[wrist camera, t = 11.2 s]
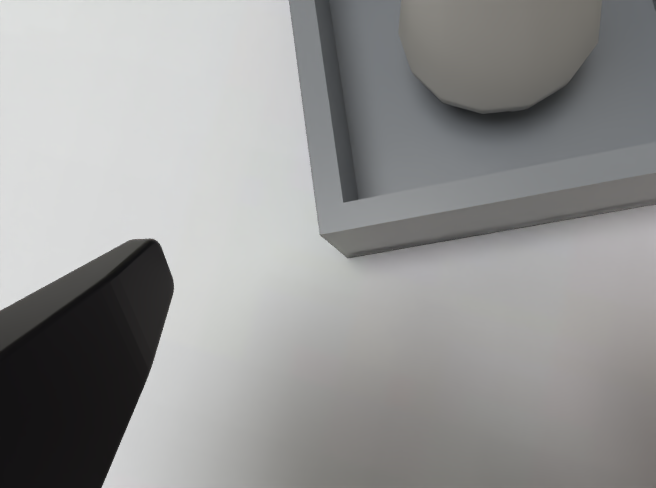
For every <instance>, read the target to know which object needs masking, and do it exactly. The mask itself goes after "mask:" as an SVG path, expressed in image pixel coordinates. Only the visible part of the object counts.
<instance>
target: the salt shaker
mask: <svg viewBox="0 0 656 488" xmlns="http://www.w3.org/2000/svg"><path fill="white" fill-rule="evenodd" d="M601 7H602V0H401V9H400V20H399V31H398V34H399V37H400V40H401V43H402V46H403V48H404V51H405V54H406V57H407V60H408V63H409V66H410V69H411V71H412V73H413V74H414V76H415V77H416V78H417V79H418V80H419V81H420V82H421V83H422V84H423V85H424V86H425V87H426V88H428V89H429V90H430V91H431V92H432V93H433V94H434V95H435V96H436V97H437V98H438V99H439V100H440V101H441V102H442V103H445V104H448V105H451V106H455V107H459V108H463V109H467V110H470V111H474V112H477V113H481V114H487V113H496V112H506V111H511V112H514V111H520V110H525V109H528V108H530V107H532V106H533V105H535V104H537V103H538V102H540V101H541V100H543V99H545V98H546V97H548V96H550V95H551V94H553V93H554V92H556V91H558V90H559V89H561V88H563V87H564V86H566V85H567V83H568V82H569V81H570V80H571V79H572V77H573V76H574V75H575V73H576V72H577V71H578V69H579V68H580V66H581V65H582V64H583V62H584V61H585V60H586V58H587V57H588V56H589V54H590V53H591V51H592V50H593V49H594V47H595V46H596V45H597V43H598V38H599V28H600V18H601Z"/></svg>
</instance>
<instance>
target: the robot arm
mask: <svg viewBox="0 0 656 488" xmlns="http://www.w3.org/2000/svg"><path fill="white" fill-rule="evenodd" d="M173 291H174V283H173V278H172V275H171V272H170V269H169V267H168V264H167V261H166V259H165V256H164V253H163V250H162V248H161V246H160V244H159V243H158V241H156V240H154V239H133V240H129V241H127V242H125V243H124V244H122V245H120V246H118V247H116V248H114V249H113V250H111V251H109V252H107V253H105V254H103V255H102V256H100V257H98V258H96V259H94V260H92V261H91V262H89V263H87V264H85V265H83V266H81V267H80V268H78V269H76V270H74V271H72V272H70V273H69V274H67V275H65V276H63V277H61V278H59V279H58V280H56V281H54V282H52V283H50V284H48V285H47V286H45V287H43V288H41V289H39V290H37V291H36V292H34V293H32V294H30V295H28V296H26V297H25V298H23V299H21V300H19V301H17V302H15V303H14V304H12V305H10V306H8V307H6V308H4V309H3V310H1V311H0V488H102V485H103V483H104V481H105V478H106V476H107V473H108V471H109V469H110V466H111V464H112V462H113V459H114V457H115V454H116V452H117V450H118V447H119V445H120V443H121V440H122V438H123V435H124V433H125V431H126V428H127V426H128V423H129V421H130V419H131V416H132V414H133V412H134V409H135V407H136V404H137V402H138V400H139V397H140V395H141V392H142V390H143V388H144V385H145V383H146V380H147V378H148V375H149V372H150V370H151V367H152V364H153V361H154V357H155V354H156V351H157V347H158V344H159V340H160V337H161V334H162V330H163V327H164V323H165V320H166V317H167V313H168V310H169V306H170V303H171V300H172V296H173Z"/></svg>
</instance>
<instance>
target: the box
mask: <svg viewBox="0 0 656 488" xmlns="http://www.w3.org/2000/svg"><path fill="white" fill-rule="evenodd" d="M289 5H290V12H291V20H292V28H293V35H294V43H295V50H296V58H297V66H298V73H299V81H300V88H301V96H302V104H303V111H304V119H305V126H306V134H307V142H308V149H309V157H310V165H311V172H312V180H313V187H314V195H315V203H316V210H317V218H318V225H319V233H320V235H321V236H322V237H323V238H324V239H325V240H327V241H328V242H329V243H330V244H331V245H333V246H334V247H335V248H336V249H337V250H339V251H340V252H341V253H342V254H343V255H345V256H346V257H347V258H351V257H357V256H362V255H368V254H374V253H379V252H385V251H391V250H397V249H402V248H408V247H414V246H419V245H425V244H431V243H436V242H442V241H448V240H454V239H459V238H465V237H471V236H476V235H482V234H488V233H494V232H499V231H505V230H511V229H516V228H522V227H528V226H534V225H539V224H545V223H551V222H556V221H562V220H568V219H573V218H579V217H585V216H591V215H596V214H602V213H608V212H613V211H619V210H625V209H631V208H636V207H642V206H648V205H653V204H656V0H602V7H601V18H600V28H599V38H598V43H597V45H596V46H595V47H594V49H593V50H592V51H591V53H590V54H589V56H588V57H587V58H586V60H585V61H584V62H583V64H582V65H581V66H580V68H579V69H578V71H577V72H576V73H575V75H574V76H573V77H572V79H571V80H570V81H569V82H568V83H567V85H566V86H564V87H563V88H561V89H559V90H558V91H556V92H554V93H553V94H551V95H550V96H548V97H546V98H545V99H543V100H541V101H540V102H538V103H537V104H535V105H533V106H532V107H530V108H528V109H525V110H520V111H514V112H511V111H506V112H496V113H487V114H481V113H477V112H474V111H470V110H467V109H463V108H459V107H455V106H451V105H448V104H445V103H442V102H441V101H440V100H439V99H438V98H437V97H436V96H435V95H434V94H433V93H432V92H431V91H430V90H429V89H428V88H426V87H425V86H424V85H423V84H422V83H421V82H420V81H419V80H418V79H417V78H416V77H415V76H414V74H413V73H412V71H411V69H410V66H409V63H408V60H407V57H406V54H405V51H404V48H403V46H402V43H401V40H400V37H399V34H398V31H399V20H400V9H401V0H289Z"/></svg>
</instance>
